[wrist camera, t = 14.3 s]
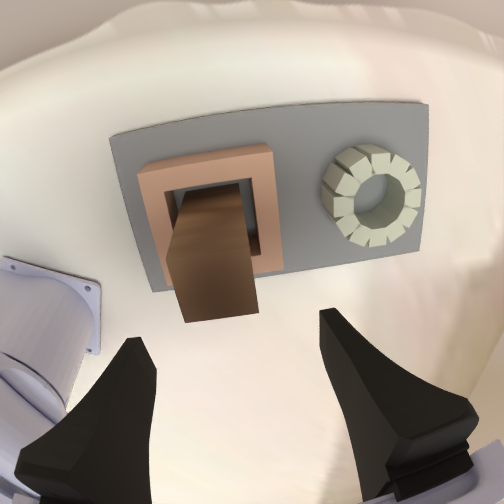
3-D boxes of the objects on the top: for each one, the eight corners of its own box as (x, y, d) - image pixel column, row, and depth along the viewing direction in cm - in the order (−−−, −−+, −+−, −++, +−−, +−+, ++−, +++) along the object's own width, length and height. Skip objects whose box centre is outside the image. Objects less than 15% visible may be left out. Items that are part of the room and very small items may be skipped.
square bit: (195, 238, 21) (185, 323, 14) (185, 191, 19) (165, 259, 12) (245, 230, 21) (259, 312, 14) (238, 182, 19) (249, 246, 12)
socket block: (154, 284, 23) (146, 315, 20) (114, 135, 18) (93, 146, 15) (413, 244, 23) (435, 268, 20) (420, 102, 18) (450, 109, 15)
